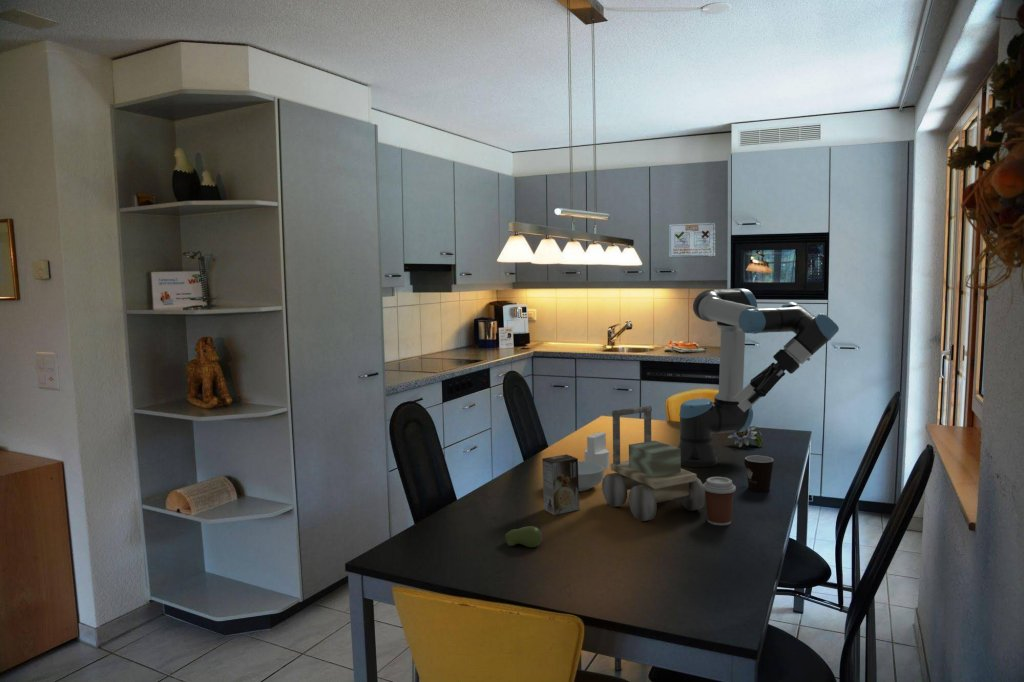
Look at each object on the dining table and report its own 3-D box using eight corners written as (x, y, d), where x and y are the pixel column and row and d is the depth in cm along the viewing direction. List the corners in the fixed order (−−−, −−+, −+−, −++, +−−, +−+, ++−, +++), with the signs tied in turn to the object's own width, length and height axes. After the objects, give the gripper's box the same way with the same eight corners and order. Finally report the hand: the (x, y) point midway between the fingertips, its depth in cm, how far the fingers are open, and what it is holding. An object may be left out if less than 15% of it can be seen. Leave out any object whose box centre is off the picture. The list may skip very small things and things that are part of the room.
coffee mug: (775, 493, 213) (775, 462, 212) (747, 492, 215) (747, 462, 214) (769, 482, 224) (769, 453, 223) (742, 481, 226) (742, 452, 225)
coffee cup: (700, 525, 188) (700, 483, 187) (704, 514, 196) (703, 474, 195) (735, 528, 184) (735, 486, 183) (736, 517, 193) (736, 476, 192)
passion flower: (740, 460, 272) (722, 436, 273) (747, 449, 281) (729, 426, 282) (763, 448, 265) (745, 423, 267) (769, 437, 274) (751, 413, 275)
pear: (535, 530, 172) (500, 532, 176) (539, 550, 172) (504, 551, 176) (542, 522, 177) (508, 524, 181) (546, 542, 177) (512, 543, 181)
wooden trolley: (602, 501, 209) (601, 410, 207) (655, 491, 218) (654, 403, 216) (649, 526, 188) (649, 424, 185) (706, 513, 197) (706, 416, 194)
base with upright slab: (601, 471, 242) (601, 438, 241) (580, 467, 248) (579, 435, 247) (613, 465, 250) (613, 434, 248) (592, 462, 255) (592, 431, 254)
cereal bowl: (613, 486, 225) (613, 465, 224) (584, 499, 212) (583, 477, 212) (573, 477, 236) (573, 457, 235) (543, 488, 224) (542, 468, 223)
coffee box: (568, 504, 208) (567, 453, 207) (579, 510, 202) (579, 458, 201) (542, 509, 204) (541, 457, 202) (553, 515, 198) (552, 462, 197)
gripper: (808, 371, 189) (752, 421, 194) (794, 360, 213) (744, 405, 218) (788, 352, 190) (733, 403, 195) (776, 343, 214) (727, 389, 219)
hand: (738, 404), depth 207 cm, fingers open, 13 cm apart
